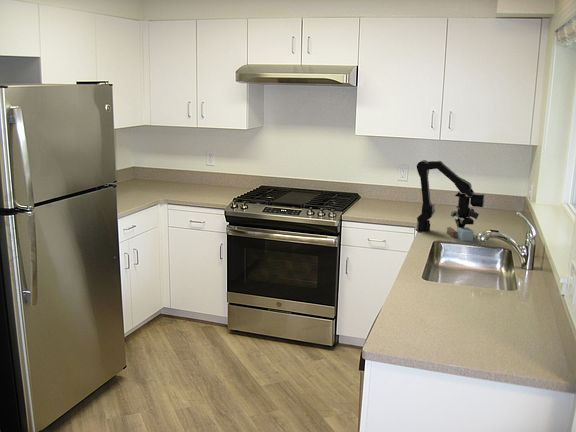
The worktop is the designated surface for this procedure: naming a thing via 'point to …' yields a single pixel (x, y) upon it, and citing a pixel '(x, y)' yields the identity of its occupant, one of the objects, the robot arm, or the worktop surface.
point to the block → (465, 234)
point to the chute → (452, 232)
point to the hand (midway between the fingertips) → (460, 233)
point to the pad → (466, 241)
